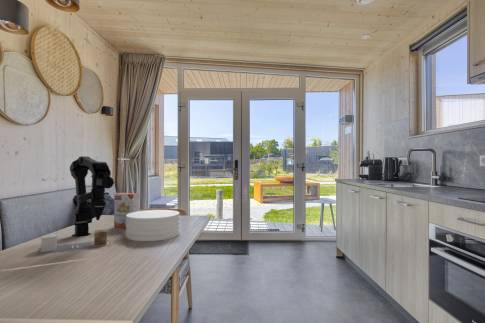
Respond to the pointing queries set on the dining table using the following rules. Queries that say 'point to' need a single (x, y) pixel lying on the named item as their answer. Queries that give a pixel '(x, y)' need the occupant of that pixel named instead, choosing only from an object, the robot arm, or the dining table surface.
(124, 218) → the cracker box
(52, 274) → the dining table surface
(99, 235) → the walnut block
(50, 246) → the grey block
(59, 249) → the board
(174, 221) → the plate stack
